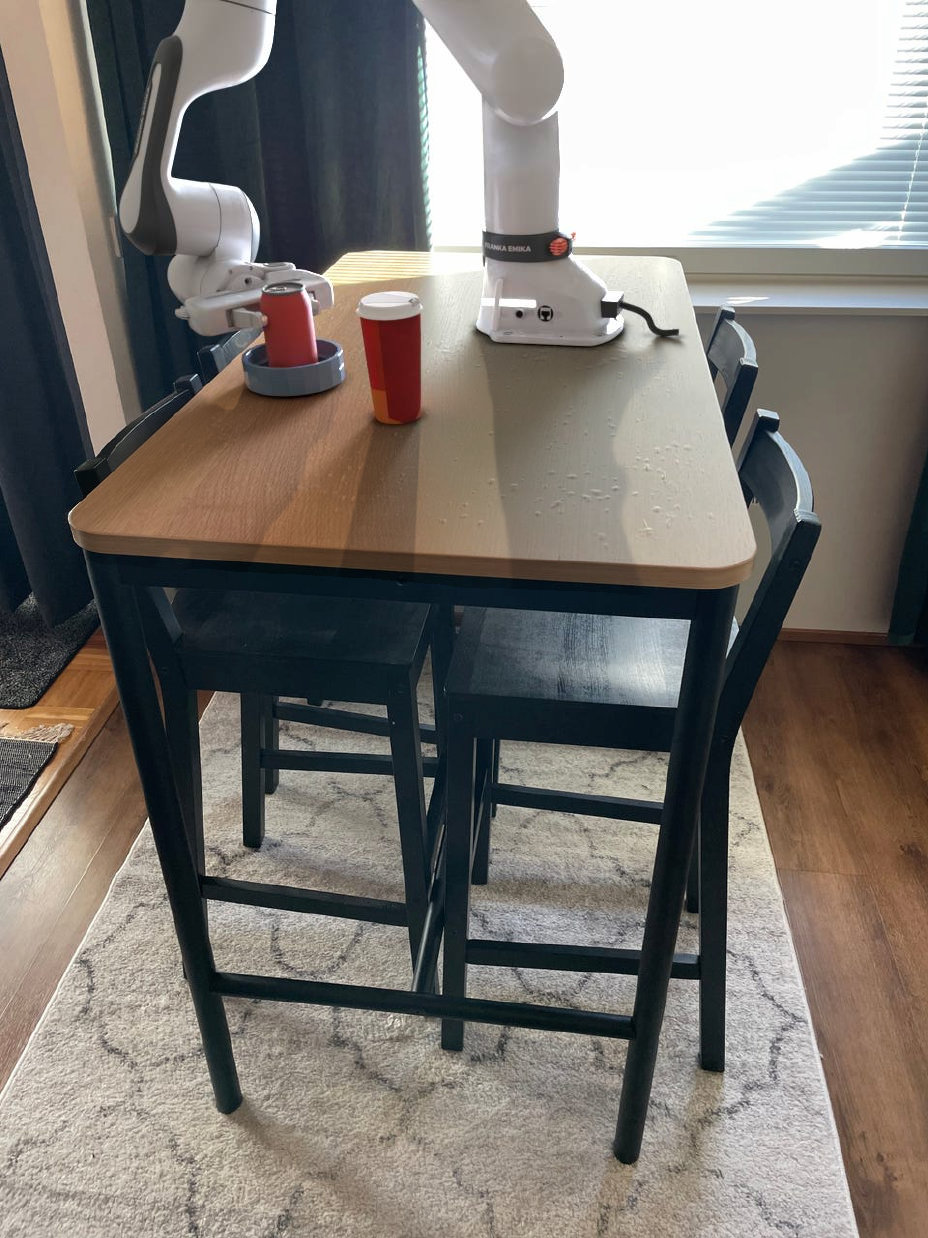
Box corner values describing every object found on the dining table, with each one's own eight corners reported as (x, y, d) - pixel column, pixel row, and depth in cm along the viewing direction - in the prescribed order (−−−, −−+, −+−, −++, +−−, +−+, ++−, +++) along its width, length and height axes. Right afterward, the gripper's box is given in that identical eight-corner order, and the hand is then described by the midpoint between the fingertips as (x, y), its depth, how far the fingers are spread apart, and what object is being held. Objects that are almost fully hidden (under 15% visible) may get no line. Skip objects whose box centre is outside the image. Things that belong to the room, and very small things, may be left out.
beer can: (273, 372, 127) (259, 282, 120) (321, 369, 127) (310, 279, 121) (268, 388, 122) (254, 295, 115) (319, 385, 122) (307, 292, 115)
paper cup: (438, 407, 115) (432, 291, 107) (415, 430, 109) (407, 309, 101) (380, 401, 117) (370, 288, 110) (355, 424, 111) (343, 305, 104)
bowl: (363, 371, 127) (360, 342, 125) (310, 404, 117) (306, 373, 115) (283, 361, 132) (279, 333, 130) (226, 391, 122) (221, 362, 120)
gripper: (164, 286, 121) (212, 306, 112) (298, 259, 132) (352, 275, 123) (174, 335, 125) (222, 357, 116) (304, 304, 135) (357, 323, 126)
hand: (290, 315), depth 119 cm, fingers closed on beer can, 6 cm apart
